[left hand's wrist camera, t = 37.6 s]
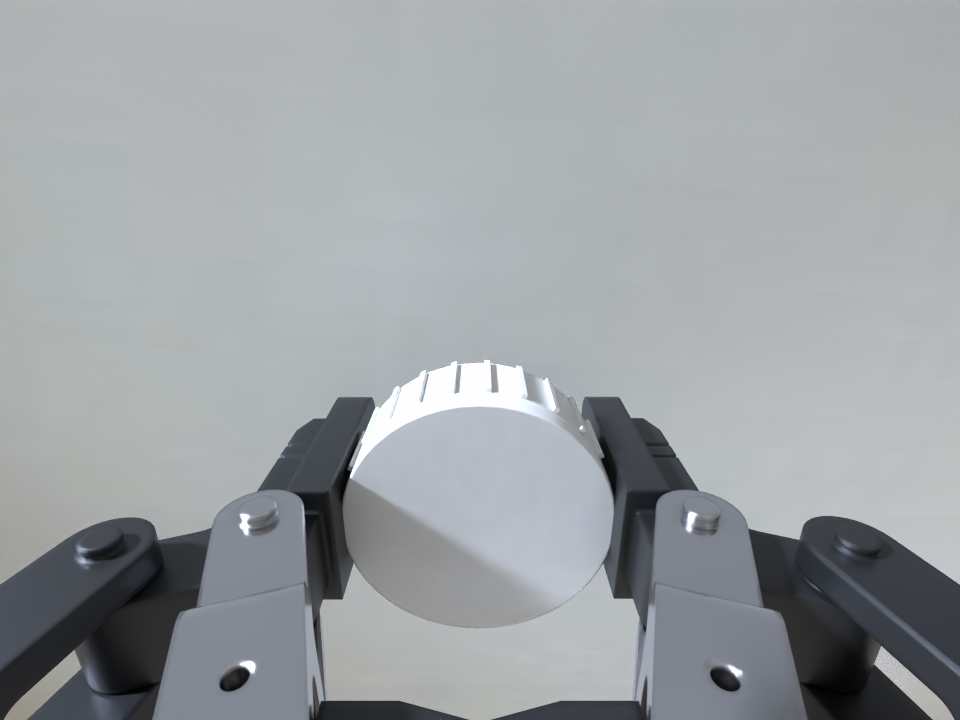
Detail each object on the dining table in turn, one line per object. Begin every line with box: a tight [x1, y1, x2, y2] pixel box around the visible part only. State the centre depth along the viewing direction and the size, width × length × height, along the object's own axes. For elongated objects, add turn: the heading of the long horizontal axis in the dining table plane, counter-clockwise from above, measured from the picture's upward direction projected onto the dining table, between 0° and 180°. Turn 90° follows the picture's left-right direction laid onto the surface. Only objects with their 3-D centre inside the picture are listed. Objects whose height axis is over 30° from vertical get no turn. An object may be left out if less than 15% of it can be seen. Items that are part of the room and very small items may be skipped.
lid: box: [342, 360, 615, 628], centre depth 10 cm, size 5×5×2 cm
